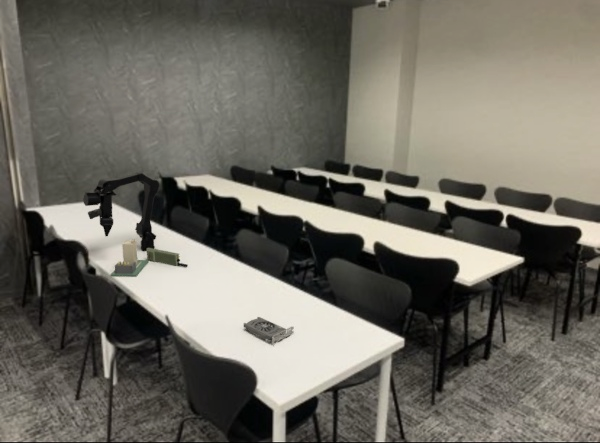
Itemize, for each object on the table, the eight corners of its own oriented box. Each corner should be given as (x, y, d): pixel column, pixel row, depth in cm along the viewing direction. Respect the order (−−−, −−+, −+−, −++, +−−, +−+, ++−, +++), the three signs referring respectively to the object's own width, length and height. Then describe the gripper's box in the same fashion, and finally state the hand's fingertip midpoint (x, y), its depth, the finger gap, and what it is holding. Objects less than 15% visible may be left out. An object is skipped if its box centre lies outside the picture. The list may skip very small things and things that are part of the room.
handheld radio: (150, 258, 242) (189, 266, 232) (146, 261, 239) (185, 269, 229) (149, 247, 240) (188, 254, 230) (145, 249, 237) (184, 256, 227)
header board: (125, 261, 236) (124, 249, 235) (148, 261, 237) (147, 250, 235) (110, 276, 217) (109, 263, 215) (136, 276, 217) (135, 263, 216)
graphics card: (296, 326, 169) (273, 337, 160) (295, 335, 170) (273, 347, 161) (263, 312, 180) (240, 322, 171) (263, 321, 180) (240, 331, 172)
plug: (127, 263, 230) (125, 238, 226) (137, 263, 230) (135, 238, 226) (124, 267, 225) (122, 241, 221) (134, 267, 225) (132, 242, 222)
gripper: (88, 200, 238) (89, 229, 241) (88, 207, 221) (88, 239, 224) (111, 200, 242) (112, 229, 246) (113, 207, 226) (113, 238, 229)
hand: (106, 234), depth 236 cm, fingers open, 9 cm apart
